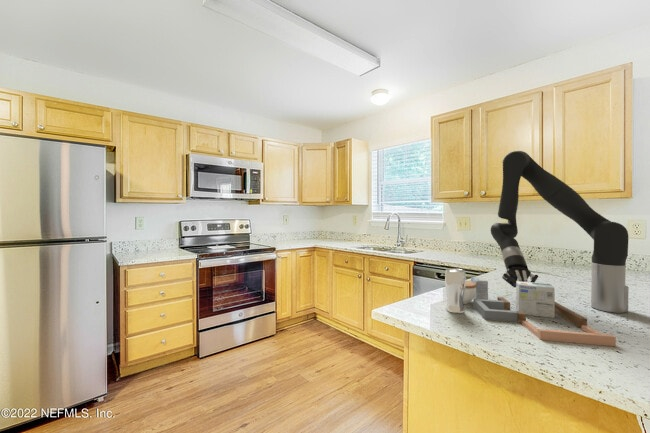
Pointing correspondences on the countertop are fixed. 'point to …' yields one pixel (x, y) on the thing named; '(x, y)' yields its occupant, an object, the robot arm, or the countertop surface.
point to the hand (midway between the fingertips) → (526, 296)
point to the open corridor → (559, 310)
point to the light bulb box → (535, 299)
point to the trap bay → (494, 310)
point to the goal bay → (573, 335)
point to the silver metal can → (455, 289)
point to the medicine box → (480, 288)
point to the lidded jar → (469, 292)
